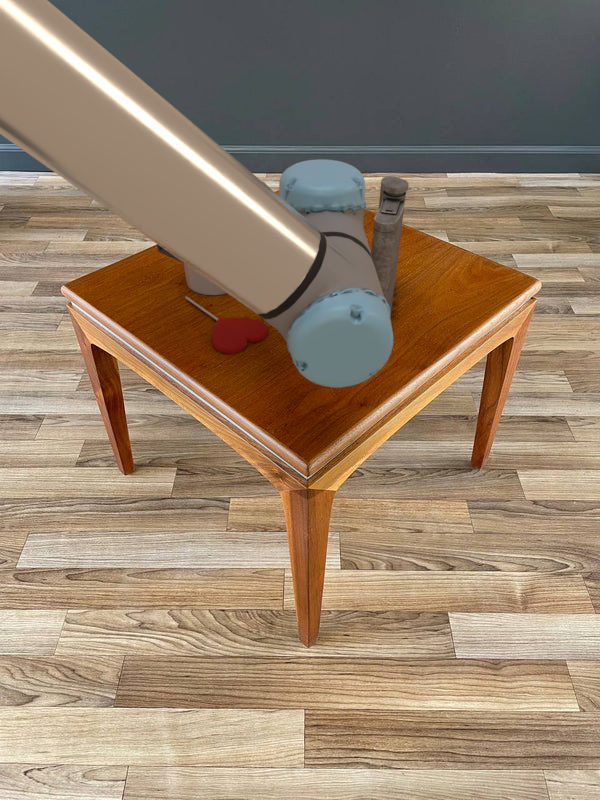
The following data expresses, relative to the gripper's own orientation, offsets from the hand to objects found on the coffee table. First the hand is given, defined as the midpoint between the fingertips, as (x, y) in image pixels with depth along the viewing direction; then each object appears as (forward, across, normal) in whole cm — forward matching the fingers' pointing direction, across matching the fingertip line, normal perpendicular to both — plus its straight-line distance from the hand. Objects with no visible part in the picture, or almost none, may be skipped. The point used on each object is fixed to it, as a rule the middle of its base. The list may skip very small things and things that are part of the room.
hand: (213, 200), depth 85 cm
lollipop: (-7, -3, -14) cm, 16 cm away
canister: (+3, 0, -14) cm, 14 cm away
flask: (-13, +20, -14) cm, 27 cm away
